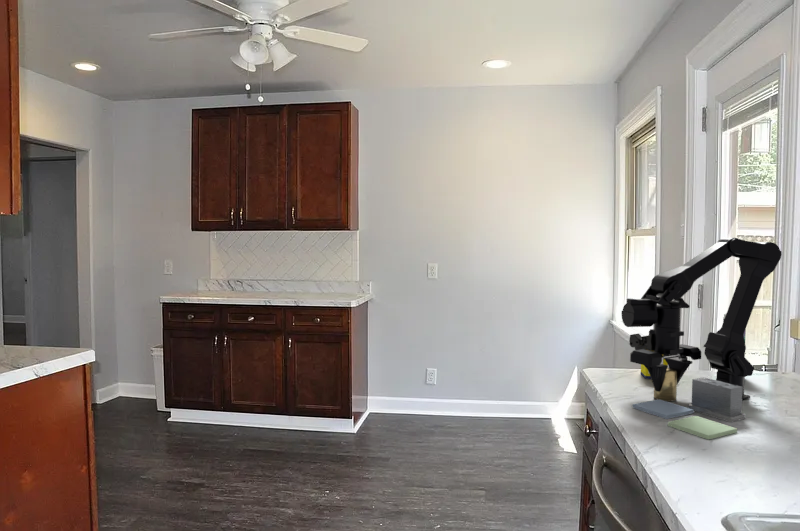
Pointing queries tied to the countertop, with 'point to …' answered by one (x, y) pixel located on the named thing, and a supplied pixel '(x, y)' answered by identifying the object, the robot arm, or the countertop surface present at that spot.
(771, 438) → the countertop surface
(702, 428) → the sage mat
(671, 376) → the gold metal cylinder
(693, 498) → the countertop surface
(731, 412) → the grey block with base
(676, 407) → the slate mat
